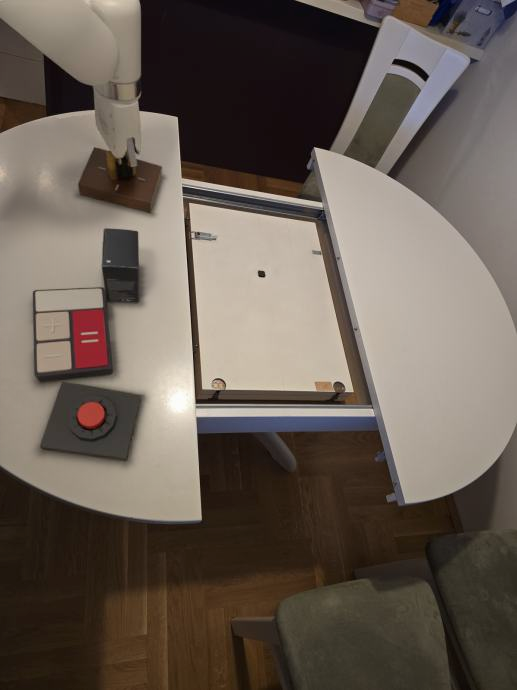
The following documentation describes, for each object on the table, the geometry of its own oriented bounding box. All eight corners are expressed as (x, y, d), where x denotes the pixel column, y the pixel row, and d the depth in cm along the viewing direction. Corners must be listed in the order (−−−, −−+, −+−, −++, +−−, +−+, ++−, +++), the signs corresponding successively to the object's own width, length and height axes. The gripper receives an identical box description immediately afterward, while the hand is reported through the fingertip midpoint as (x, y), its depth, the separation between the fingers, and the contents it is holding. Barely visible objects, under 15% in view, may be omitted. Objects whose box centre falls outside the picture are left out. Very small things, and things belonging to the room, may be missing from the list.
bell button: (75, 427, 56) (74, 424, 55) (83, 403, 58) (81, 399, 56) (101, 430, 57) (100, 428, 55) (108, 407, 59) (107, 404, 57)
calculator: (33, 375, 58) (31, 287, 63) (39, 383, 61) (37, 300, 66) (111, 367, 61) (104, 284, 66) (113, 375, 65) (106, 296, 70)
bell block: (42, 449, 57) (36, 444, 54) (64, 386, 62) (59, 377, 58) (126, 461, 59) (125, 456, 56) (141, 399, 64) (141, 391, 61)
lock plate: (80, 195, 78) (77, 182, 75) (95, 158, 83) (93, 146, 80) (150, 213, 81) (150, 202, 78) (161, 177, 86) (162, 165, 83)
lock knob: (111, 179, 78) (110, 158, 73) (107, 172, 78) (105, 150, 74) (135, 175, 80) (135, 153, 76) (131, 168, 81) (131, 146, 76)
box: (139, 303, 71) (138, 268, 62) (106, 302, 70) (100, 266, 60) (139, 267, 75) (139, 229, 65) (108, 266, 73) (103, 226, 64)
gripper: (74, 50, 63) (87, 147, 79) (114, 116, 59) (120, 205, 75) (119, 48, 66) (123, 142, 82) (160, 110, 63) (156, 197, 78)
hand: (121, 171), depth 79 cm, fingers closed on lock knob, 2 cm apart
